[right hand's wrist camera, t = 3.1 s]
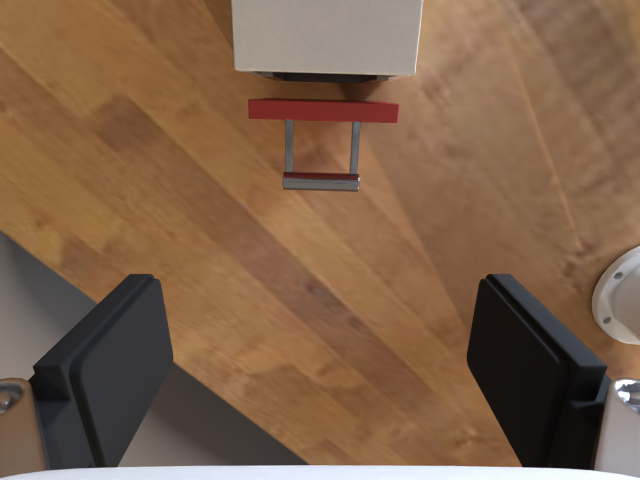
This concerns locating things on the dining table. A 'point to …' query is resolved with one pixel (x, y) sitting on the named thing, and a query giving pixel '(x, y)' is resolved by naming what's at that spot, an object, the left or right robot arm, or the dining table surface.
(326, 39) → the cabinet
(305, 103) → the drawer
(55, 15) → the dining table surface
